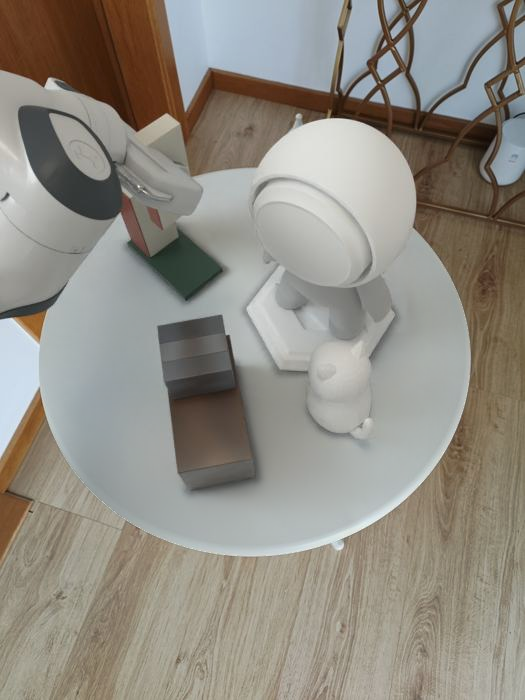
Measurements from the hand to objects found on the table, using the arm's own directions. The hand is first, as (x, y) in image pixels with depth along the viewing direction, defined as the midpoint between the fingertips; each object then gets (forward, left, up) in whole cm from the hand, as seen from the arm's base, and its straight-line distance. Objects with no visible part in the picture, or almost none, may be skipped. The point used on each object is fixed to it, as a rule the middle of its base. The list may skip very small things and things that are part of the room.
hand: (173, 164), depth 67 cm
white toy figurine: (+18, -13, -23) cm, 31 cm away
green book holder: (-3, +2, -22) cm, 23 cm away
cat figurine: (+17, -29, -23) cm, 40 cm away
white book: (-1, -1, -8) cm, 8 cm away
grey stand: (-1, -27, -22) cm, 35 cm away
